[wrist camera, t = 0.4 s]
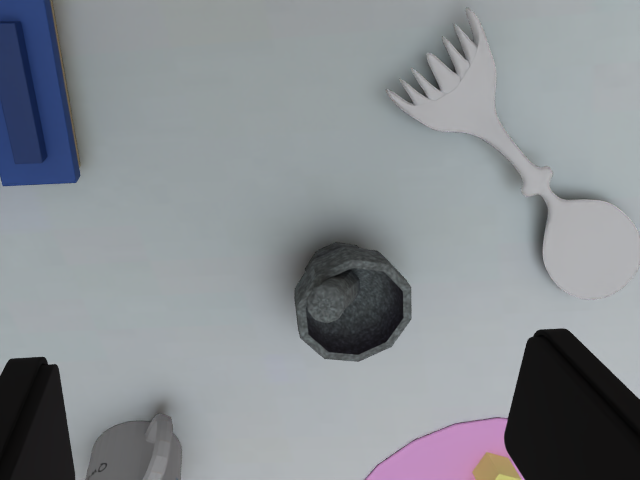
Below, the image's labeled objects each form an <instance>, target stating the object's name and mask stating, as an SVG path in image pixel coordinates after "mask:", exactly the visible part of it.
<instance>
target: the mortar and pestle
mask: <svg viewBox="0 0 640 480" xmlns="http://www.w3.org/2000/svg"><path fill="white" fill-rule="evenodd" d="M305 271H306V272H305V274H304V275H303V277H302V278H301V280H300V281H299V283H298V285H297V286H296V288H295V297H294V298H295V307H296V315H297V324H298V331H299V335H300V338H301V339H302V340H303V341H304V342H305V343H307V344H308V345H309V346H310V347H311V348H312V349H314V350H315V351H316V352H317V353H318V354H319V355H321V356H322V357H323V358H324V359H333V360H345V361H357V362H359V361H361V360H363V359H366V358H368V357H370V356H372V355H374V354H377V353H379V352H381V351H383V350H385V349H388V348H390V347H392V345H393V344H394V342H395V341H396V340H397V338H398V337H399V336H400V334H401V333H402V331H403V330H404V329H405V327H406V326H407V324H408V323H409V322H410V320H411V287H410V285H409V284H408V282H407V280H406V279H405V278H404V277H403V276H402V275H401V274H400V273H399V272H398V271H397V270H396V269H395V268H394V267H393V265H392V264H391V263H390V262H389V261H388V260H387V259H386V258H385V257H384V256H383V255H382V254H381V253H379V252H378V251H375V250H367V249H360V248H359V247H358V246H357V245H351V244H344V243H337V242H336V243H333V244H331V245H329V246H327V247H325V248H322V249H320V250H318V251H316V252H315V254H314V256H313V257H312V259H311V260H310V262H309V264H308V265H307V267H306V268H305Z"/></svg>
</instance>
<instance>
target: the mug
mask: <svg viewBox="0 0 640 480" xmlns="http://www.w3.org/2000/svg"><path fill="white" fill-rule="evenodd" d="M181 459H182V450H181V445H180V442H179V440H178V439H177V437H176V436H175V434H173V424H172V419H171V417H169V416H167V415H165V414H157V415H156V416H155V417H154V418H153V419H152V421H151V422H146V421H133V422H126V423H122V424H119V425H116V426H114V427H112V428H110V429H109V430H107V431H106V432H104V433H103V434H102V435H101V436H100V437H99V438H98V439H97V441H96V443H95V444H94V447H93V450H92V454H91V458H90V462H89V467H88V471H87V475H86V479H85V480H181Z"/></svg>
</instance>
